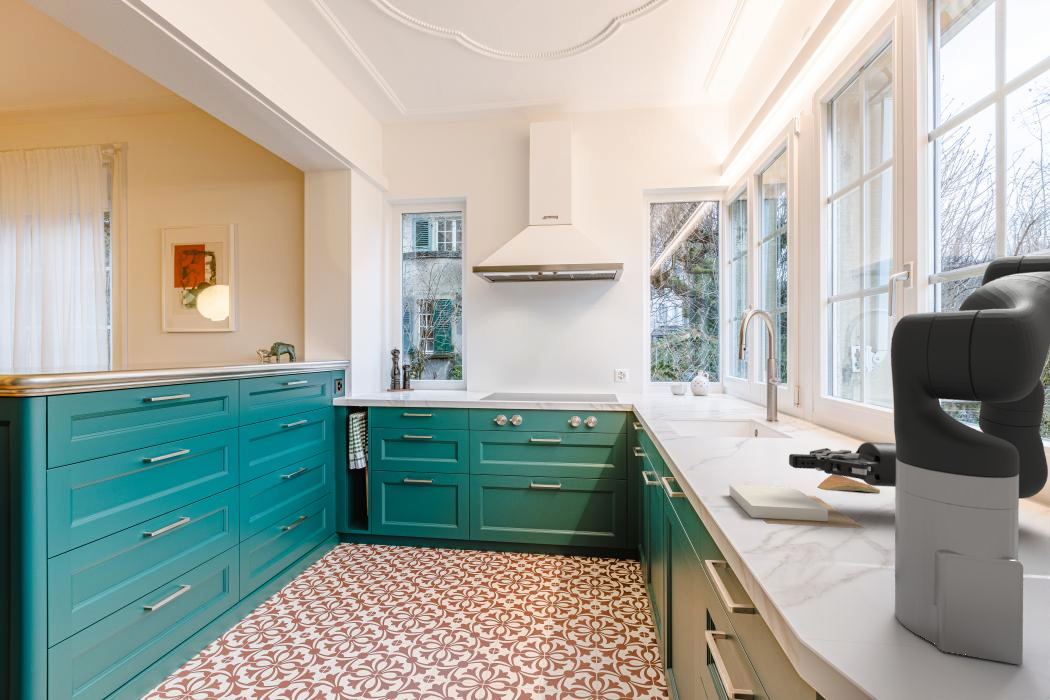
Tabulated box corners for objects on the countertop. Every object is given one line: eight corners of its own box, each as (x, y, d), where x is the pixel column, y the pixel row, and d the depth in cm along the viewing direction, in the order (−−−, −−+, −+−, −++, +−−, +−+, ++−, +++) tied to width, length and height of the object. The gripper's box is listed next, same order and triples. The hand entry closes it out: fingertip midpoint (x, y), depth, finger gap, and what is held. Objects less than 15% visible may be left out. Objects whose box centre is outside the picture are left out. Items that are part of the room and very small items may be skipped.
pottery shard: (817, 493, 93) (817, 480, 93) (817, 481, 101) (817, 470, 101) (882, 502, 87) (882, 489, 87) (876, 489, 95) (876, 477, 95)
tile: (827, 509, 75) (752, 505, 76) (827, 521, 75) (752, 517, 76) (794, 487, 87) (729, 484, 88) (794, 498, 87) (729, 495, 88)
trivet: (865, 530, 72) (865, 528, 72) (766, 525, 74) (766, 522, 74) (814, 497, 88) (814, 495, 88) (734, 494, 90) (734, 492, 90)
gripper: (872, 436, 85) (775, 433, 88) (924, 452, 72) (808, 448, 75) (872, 475, 85) (775, 471, 88) (923, 498, 72) (808, 493, 75)
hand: (791, 460), depth 81 cm, fingers closed
